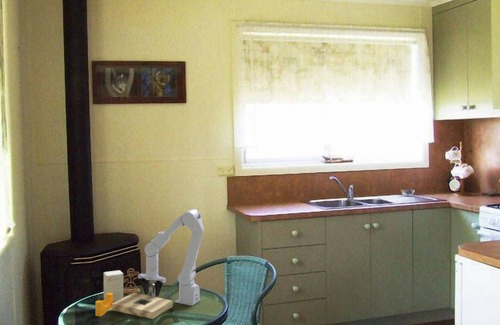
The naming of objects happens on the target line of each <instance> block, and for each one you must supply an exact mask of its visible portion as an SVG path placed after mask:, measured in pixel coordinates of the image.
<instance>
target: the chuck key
mask: <svg viewBox="0 0 500 325" xmlns="http://www.w3.org/2000/svg"><path fill="white" fill-rule="evenodd" d="M155 282H156V281H153V282H149V285H148V287H149V292H148V296H152V297H156V296H155V286H154V283H155Z"/></svg>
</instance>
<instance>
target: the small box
mask: <svg viewBox="0 0 500 325" xmlns="http://www.w3.org/2000/svg"><path fill="white" fill-rule="evenodd" d="M123 278H124V272H122V271H121V270H119V269H118V270H112V271H111V270H110V271H105V272H103V300H104V299H105V297H106V294H107V293H113V302H116V301H118V300H120V299H122V298H124V294H123V289H124V280H123Z"/></svg>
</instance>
